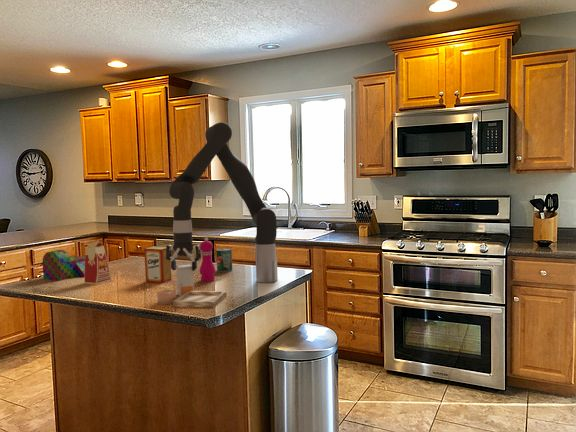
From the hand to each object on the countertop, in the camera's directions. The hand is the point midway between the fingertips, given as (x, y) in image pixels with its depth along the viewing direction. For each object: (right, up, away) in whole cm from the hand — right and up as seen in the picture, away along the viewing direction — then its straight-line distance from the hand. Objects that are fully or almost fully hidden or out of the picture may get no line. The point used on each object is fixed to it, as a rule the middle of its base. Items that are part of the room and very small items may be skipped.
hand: (184, 270), depth 200 cm
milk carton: (-47, -9, +29) cm, 56 cm away
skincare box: (+1, -10, +1) cm, 10 cm away
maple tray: (+9, -11, -11) cm, 18 cm away
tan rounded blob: (-4, -11, -11) cm, 16 cm away
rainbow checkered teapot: (-65, -8, +48) cm, 81 cm away
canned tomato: (+10, -6, +50) cm, 51 cm away
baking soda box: (-18, -8, +28) cm, 34 cm away
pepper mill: (+5, -8, +27) cm, 29 cm away
